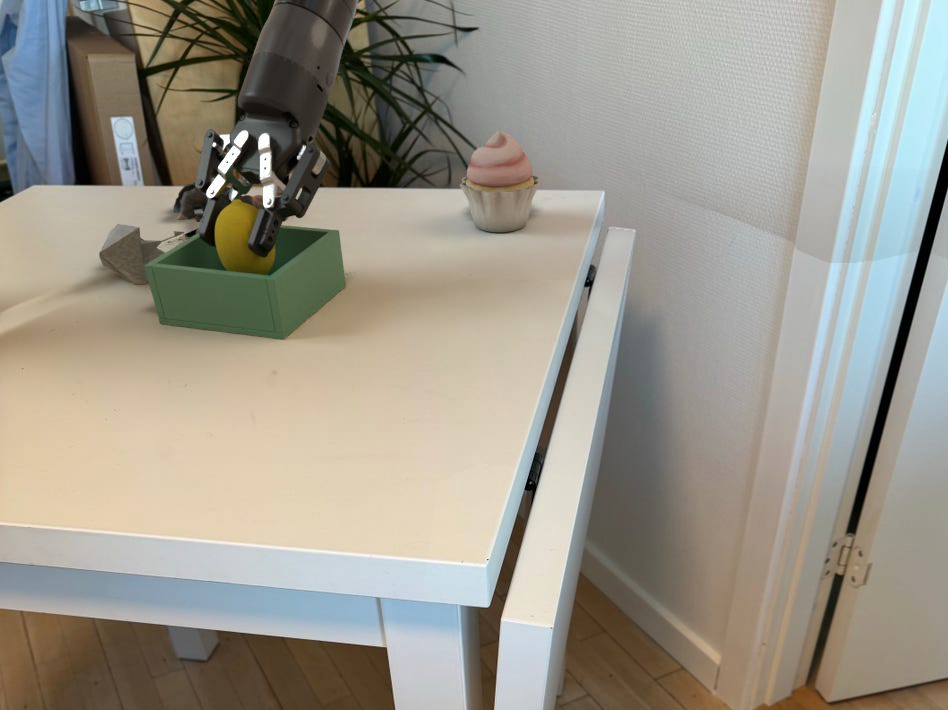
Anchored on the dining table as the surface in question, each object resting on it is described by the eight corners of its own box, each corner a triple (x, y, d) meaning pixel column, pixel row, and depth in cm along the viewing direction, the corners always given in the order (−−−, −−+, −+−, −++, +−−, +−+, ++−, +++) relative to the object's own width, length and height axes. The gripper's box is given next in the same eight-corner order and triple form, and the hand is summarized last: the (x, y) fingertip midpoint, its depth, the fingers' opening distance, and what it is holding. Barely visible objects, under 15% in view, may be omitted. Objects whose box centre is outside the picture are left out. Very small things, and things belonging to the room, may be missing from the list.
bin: (159, 323, 88) (143, 265, 84) (231, 274, 97) (220, 219, 93) (284, 339, 84) (273, 279, 81) (346, 286, 94) (339, 230, 90)
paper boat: (110, 249, 101) (186, 217, 100) (135, 305, 102) (210, 274, 101) (66, 219, 89) (152, 183, 88) (96, 283, 90) (181, 248, 90)
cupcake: (450, 235, 105) (446, 139, 98) (474, 210, 111) (471, 118, 105) (528, 241, 103) (529, 143, 96) (548, 215, 109) (550, 122, 102)
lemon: (286, 274, 92) (271, 189, 86) (275, 296, 87) (259, 208, 82) (232, 275, 92) (214, 191, 86) (219, 296, 88) (199, 209, 82)
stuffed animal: (166, 235, 103) (156, 147, 106) (187, 288, 113) (178, 206, 115) (270, 225, 104) (258, 138, 107) (282, 278, 114) (271, 197, 117)
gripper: (209, 43, 84) (149, 216, 85) (330, 54, 79) (266, 239, 79) (257, 96, 91) (202, 255, 92) (373, 109, 86) (313, 279, 86)
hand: (232, 247), depth 86 cm, fingers closed on lemon, 5 cm apart
